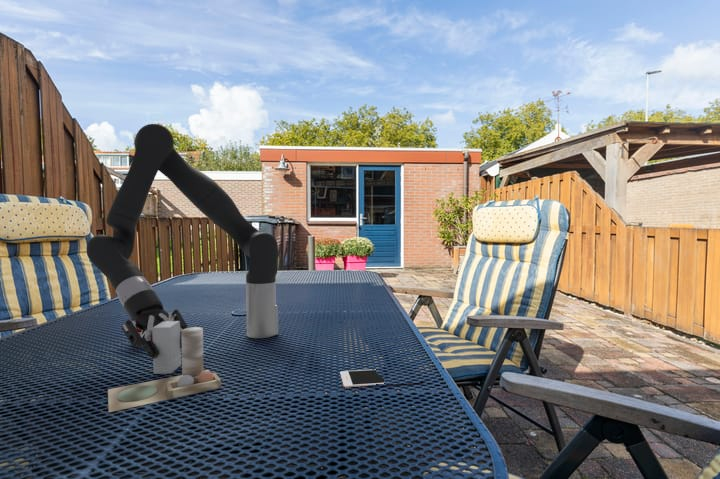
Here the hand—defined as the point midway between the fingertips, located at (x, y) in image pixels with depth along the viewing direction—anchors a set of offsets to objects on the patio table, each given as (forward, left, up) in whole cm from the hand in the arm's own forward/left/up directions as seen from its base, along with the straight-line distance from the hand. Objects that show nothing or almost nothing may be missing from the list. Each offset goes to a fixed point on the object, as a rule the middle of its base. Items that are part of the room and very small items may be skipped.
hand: (171, 351), depth 92 cm
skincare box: (+1, -1, -6) cm, 6 cm away
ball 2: (-5, +14, -4) cm, 16 cm away
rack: (+3, +11, -6) cm, 12 cm away
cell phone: (-40, +29, -6) cm, 50 cm away
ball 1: (-1, +14, -4) cm, 15 cm away
